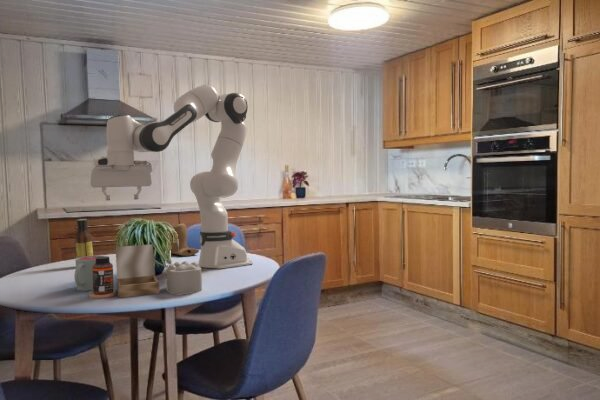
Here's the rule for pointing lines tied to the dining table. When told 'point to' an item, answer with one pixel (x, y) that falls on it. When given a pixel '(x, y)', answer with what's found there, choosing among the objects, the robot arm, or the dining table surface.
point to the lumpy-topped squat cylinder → (184, 278)
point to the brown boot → (182, 242)
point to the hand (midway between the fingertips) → (122, 199)
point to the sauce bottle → (83, 240)
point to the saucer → (96, 296)
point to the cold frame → (136, 271)
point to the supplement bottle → (102, 276)
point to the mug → (85, 272)
